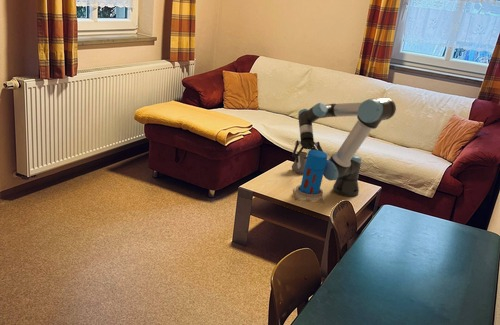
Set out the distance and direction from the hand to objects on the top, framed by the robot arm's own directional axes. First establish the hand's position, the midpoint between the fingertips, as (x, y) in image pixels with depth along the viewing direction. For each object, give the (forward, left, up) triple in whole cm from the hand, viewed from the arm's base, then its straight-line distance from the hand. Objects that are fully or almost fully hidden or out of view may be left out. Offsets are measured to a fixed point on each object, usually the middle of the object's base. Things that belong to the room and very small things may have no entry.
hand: (309, 168), depth 272 cm
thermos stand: (-1, +2, -16) cm, 16 cm away
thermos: (-1, +2, -15) cm, 15 cm away
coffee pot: (+1, -33, -16) cm, 37 cm away
